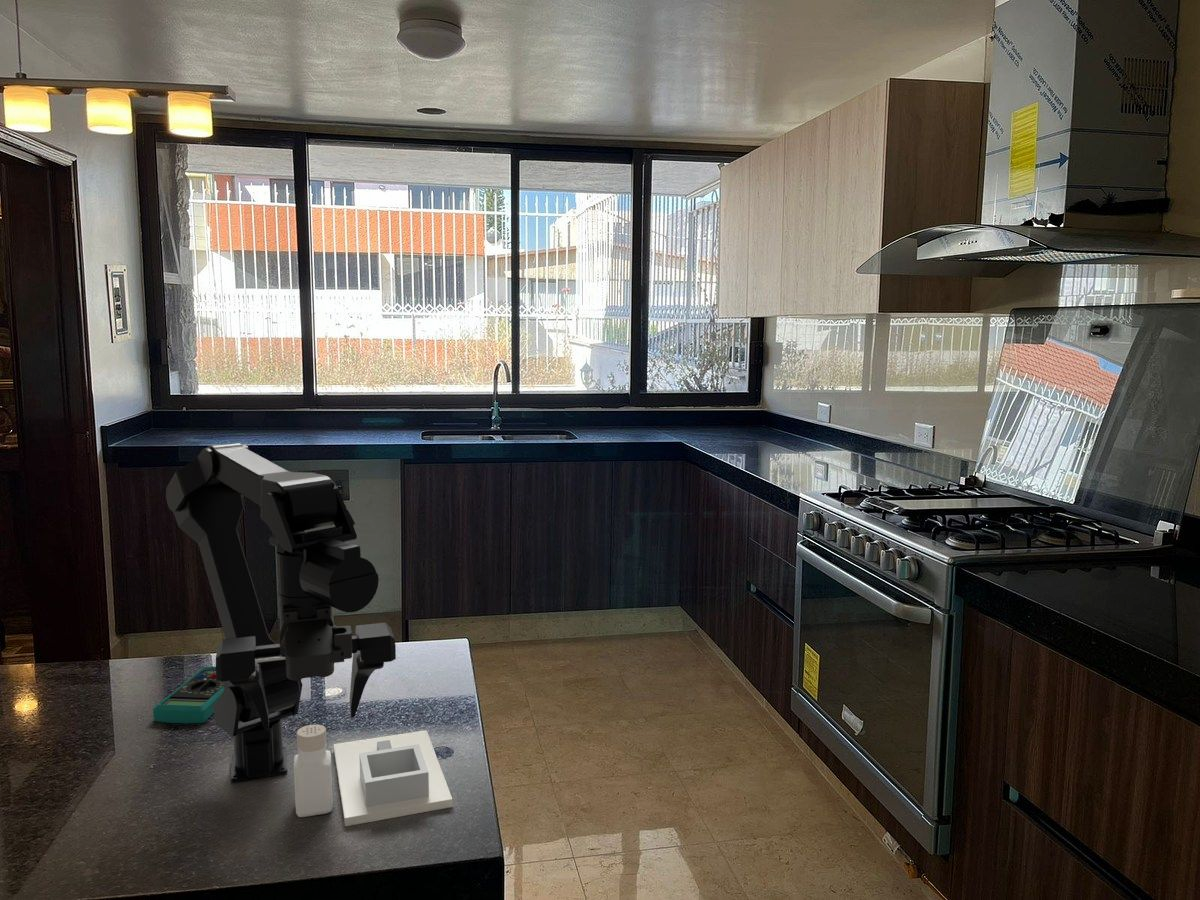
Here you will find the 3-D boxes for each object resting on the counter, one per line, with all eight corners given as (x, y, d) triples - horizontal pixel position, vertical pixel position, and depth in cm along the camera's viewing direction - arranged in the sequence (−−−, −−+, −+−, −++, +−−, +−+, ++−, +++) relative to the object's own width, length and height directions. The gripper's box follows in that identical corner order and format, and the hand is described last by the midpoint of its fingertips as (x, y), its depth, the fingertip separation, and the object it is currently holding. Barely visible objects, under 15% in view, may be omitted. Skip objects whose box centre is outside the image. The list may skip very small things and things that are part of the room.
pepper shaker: (332, 796, 105) (329, 720, 103) (333, 814, 101) (330, 735, 100) (296, 801, 104) (292, 725, 102) (296, 820, 100) (292, 741, 98)
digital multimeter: (250, 682, 137) (249, 664, 137) (203, 727, 123) (202, 707, 122) (203, 681, 138) (202, 663, 137) (151, 725, 123) (150, 705, 123)
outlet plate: (333, 751, 115) (332, 722, 115) (426, 737, 120) (426, 709, 119) (345, 826, 99) (343, 793, 98) (452, 806, 103) (452, 774, 102)
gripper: (209, 623, 88) (217, 770, 90) (401, 604, 94) (404, 742, 97) (215, 589, 98) (222, 722, 100) (388, 574, 104) (390, 699, 107)
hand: (310, 722), depth 101 cm, fingers open, 9 cm apart
